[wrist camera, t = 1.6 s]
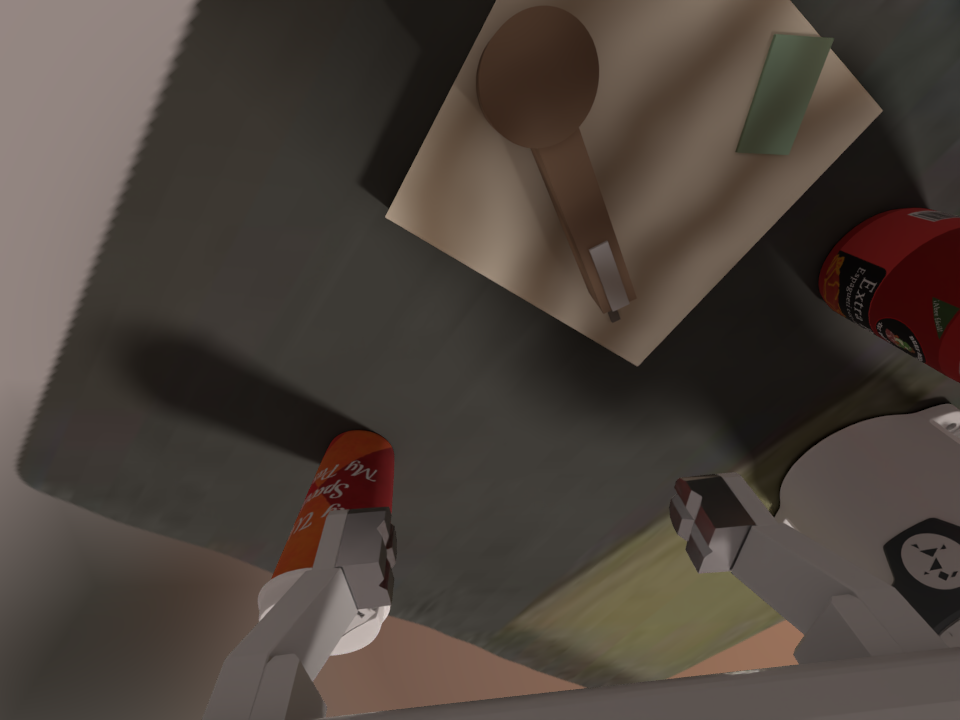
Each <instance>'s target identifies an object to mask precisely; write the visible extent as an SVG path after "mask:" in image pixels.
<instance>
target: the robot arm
mask: <svg viewBox="0 0 960 720" xmlns="http://www.w3.org/2000/svg"><path fill="white" fill-rule="evenodd" d="M674 488H675V490H676V491H677V494H676V495H675V496H674V497H673V498H671V502H670V506H669V510H670V518H671V521H672V524H673V527H674V529H675V530H676V532H677V534H678V535H679V536H680V537H682V538H683V539H685V540H686V541H687V545H686V551H687V553H688V555H689V557H690V559H691V561H692V563H693V564H694V566H695V568H696V570H697V572H698V573H710V572H724V571H731V573H732V574H733V575H734V576H735V577H737V578H738V579H739V580H740V581H741V582H743V583H744V584H745V585H746V586H747V587H748V588H750V589H751V590H752V591H753V592H754V593H756V594H757V595H758V596H759V597H760V598H761V599H763V600H764V601H765V602H766V603H767V604H769V605H770V606H771V607H772V608H773V609H774V610H776V611H777V612H778V613H779V614H780V615H782V616H783V617H784V618H785V619H786V620H787V621H789V622H790V623H791V624H792V625H793V626H795V627H796V628H797V629H798V630H799V631H801V632H802V633H803V634H804V637H803V638H802V640H801V641H800V643H799V644H798V646H797V647H796V648H795V651H794V654H793V655H794V656H795V658H796V660H797V661H798V663H799V665H790V666H782V667H773V668H763V669H755V670H746V671H736V672H727V673H719V674H711V675H702V676H692V677H683V678H675V679H665V680H656V681H647V682H638V683H629V684H620V685H611V686H602V687H593V688H584V689H576V690H567V691H558V692H549V693H540V694H531V695H522V696H513V697H504V698H495V699H487V700H478V701H470V702H460V703H451V704H442V705H433V706H424V707H416V708H407V709H397V710H389V711H380V712H371V713H362V714H353V715H344V716H336V717H327V718H325V716H326V711H327V706H326V704H325V702H324V701H323V699H322V697H321V696H320V694H319V692H318V690H317V689H316V687H315V685H314V684H313V681H314V679H315V677H316V676H317V674H318V673H319V671H320V670H321V668H322V667H323V665H324V664H325V662H326V661H327V659H328V657H329V656H330V654H331V653H332V651H333V650H334V648H335V647H336V645H337V644H338V642H339V640H340V639H341V637H342V636H343V634H344V633H345V631H346V630H347V628H348V627H349V625H350V623H351V622H352V620H353V619H354V617H355V616H356V614H357V613H358V611H357V610H359V609H367V608H374V607H382V606H389V605H392V596H393V587H394V576H393V573H392V569H391V568H392V567H393V566H394V564H395V563H396V556H397V538H396V531H395V526H394V525H392V524H391V511H390V508H389V507H373V508H358V509H346V510H334V511H330V512H329V514H328V515H327V517H326V520H325V524H324V528H323V531H322V535H321V539H320V542H319V546H318V550H317V553H316V557H315V561H314V564H313V568H312V570H309V571H305V572H304V574H303V575H302V576H301V577H300V578H299V579H298V580H297V581H296V582H295V583H294V584H293V586H292V587H291V588H290V589H289V590H288V591H287V592H286V593H285V594H284V595H283V596H282V598H281V599H280V600H279V601H278V602H277V603H276V604H275V605H274V606H273V607H272V608H271V610H270V611H269V612H268V613H267V614H266V615H265V616H264V617H263V618H262V619H261V620H260V622H259V623H258V624H257V625H256V626H255V627H254V628H253V629H252V630H251V631H250V633H249V634H248V635H247V636H246V637H245V638H244V639H243V640H242V641H241V642H240V643H239V644H238V646H237V647H236V648H235V649H234V650H233V651H232V652H231V653H230V655H228V657H227V658H226V659H225V661H224V664H223V666H222V669H221V672H220V674H219V677H218V679H217V682H216V685H215V687H214V690H213V692H212V695H211V697H210V700H209V702H208V705H207V708H206V710H205V713H204V715H203V718H202V720H960V410H959V409H958V408H956V407H955V406H954V405H952V404H942V405H938V406H935V407H931V408H928V409H925V410H922V411H919V412H917V413H912V414H902V415H889V416H882V417H877V418H872V419H869V420H865V421H862V422H859V423H856V424H854V425H851V426H849V427H846V428H844V429H842V430H840V431H838V432H836V433H834V434H832V435H830V436H829V437H827V438H825V439H824V440H822V441H821V442H819V443H818V444H816V445H815V446H814V447H812V448H811V449H810V450H808V451H807V452H806V453H805V454H804V455H803V456H802V457H801V458H800V459H799V460H798V461H797V462H796V463H795V464H794V465H793V466H792V468H791V469H790V470H789V472H788V473H787V475H786V477H785V478H784V480H783V483H782V486H781V489H780V509H779V510H778V512H777V514H776V516H775V517H773V516H772V515H771V513H770V512H769V511H768V510H767V508H766V507H765V506H764V504H763V503H762V502H761V501H760V499H759V498H758V497H757V496H756V494H755V493H754V492H753V490H752V489H751V488H750V487H749V485H748V484H747V483H746V482H745V480H744V479H743V478H742V477H741V475H739V474H738V473H736V472H734V473H723V474H716V475H715V474H709V475H700V476H691V477H682V478H679V479H678V480H677V481H676V483H675V487H674Z"/></svg>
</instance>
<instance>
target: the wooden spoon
mask: <svg viewBox="0 0 960 720" xmlns="http://www.w3.org/2000/svg"><path fill="white" fill-rule="evenodd" d="M598 82H599V61H598V55H597V51H596V47H595V45H594V42H593V39H592V37H591V36H590V34H589V32H588V30H587V29H586V28H585V26H584V25H583V24H582V23H581V22H580V21H579V19H577V18H576V17H575V16H574V15H572V14H571V13H569V12H567V11H565V10H563V9H561V8H558V7H553V6H535V7H530V8H528V9H525V10H522V11H520V12H519V13H517V14H515V15H514V16H512V17H511V18H510V19H508V20H507V21H506V22H505V23H504V24H503V25H502V26H501V27H500V28H499V30H498V31H497V32H496V33H495V34H494V36H493V37H492V38H491V39H490V41H489V42H488V43H487V45H486V47H485V48H484V50H483V53H482V55H481V57H480V60H479V63H478V68H477V73H476V93H477V98H478V102H479V106H480V108H481V111H482V113H483V115H484V117H485V118H486V120H487V121H488V123H489V124H490V125H491V126H492V127H493V128H494V129H495V130H496V131H497V132H499V133H500V134H501V135H502V136H503V137H505V138H506V139H507V140H509V141H510V142H512V143H514V144H516V145H519V146H522V147H526V148H530V149H531V151H532V154H533V156H534V159H535V161H536V164H537V166H538V169H539V171H540V174H541V176H542V179H543V181H544V183H545V186H546V188H547V191H548V193H549V196H550V198H551V201H552V203H553V206H554V208H555V211H556V213H557V216H558V218H559V220H560V223H561V225H562V228H563V230H564V233H565V235H566V238H567V240H568V243H569V245H570V248H571V250H572V253H573V255H574V257H575V260H576V262H577V265H578V267H579V270H580V272H581V275H582V277H583V280H584V282H585V285H586V287H587V290H588V292H589V294H590V295H591V297H592V298H593V300H594V301H595V302H596V304H597V305H598V307H599V308H600V310H601V311H602V313H603V314H605V313H607V312H609V311H611V310H612V311H615V310H618V309H620V308H622V307H624V306H626V305H628V304H630V303H629V302H630V301H632V300H635V299H637V297H636V294H635V291H634V288H633V285H632V282H631V279H630V276H629V273H628V270H627V268H626V265H625V262H624V259H623V256H622V253H621V250H620V247H619V244H618V241H617V238H616V235H615V232H614V229H613V226H612V223H611V220H610V217H609V214H608V212H607V209H606V206H605V203H604V200H603V197H602V194H601V191H600V188H599V185H598V182H597V179H596V176H595V173H594V170H593V167H592V164H591V161H590V158H589V156H588V153H587V150H586V147H585V144H584V141H583V138H582V135H581V132H580V129H579V127H580V125H581V124H582V123H583V121H584V120H585V119H586V117H587V115H588V113H589V112H590V110H591V107H592V105H593V103H594V100H595V97H596V93H597V89H598Z"/></svg>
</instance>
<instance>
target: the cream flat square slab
mask: <svg viewBox="0 0 960 720" xmlns="http://www.w3.org/2000/svg"><path fill="white" fill-rule="evenodd" d="M535 6H553V7H558V8H561V9H563V10H565V11H567V12H569V13H571V14H572V15H574V16H575V17H576V18H577V19H579V21H580V22H581V23H582V24H583V25H584V26H585V28H586V29H587V30H588V32H589V34H590V36H591V37H592V39H593V42H594V45H595V47H596V51H597V55H598V61H599V82H598V89H597V93H596V97H595V100H594V103H593V105H592V107H591V110H590V112H589V113H588V115H587V117H586V119H585V120H584V121H583V123H582V124H581V125H580V127H579V129H580V132H581V135H582V138H583V141H584V144H585V147H586V150H587V153H588V156H589V158H590V161H591V164H592V167H593V170H594V173H595V176H596V179H597V182H598V185H599V188H600V191H601V194H602V197H603V200H604V203H605V206H606V209H607V212H608V214H609V217H610V220H611V223H612V226H613V229H614V232H615V235H616V238H617V241H618V244H619V247H620V250H621V253H622V256H623V259H624V262H625V265H626V268H627V270H628V273H629V276H630V279H631V282H632V285H633V288H634V291H635V294H636V297H637V299H635V300H632V301H630V302H629V303H630V304H628V305H626V306H624V307H622V308H620V309H618V310H615V311H612V310H611V311H609V312H607V313H605V314H603V313H602V311H601V310H600V308H599V307H598V305H597V304H596V302H595V301H594V300H593V298H592V297H591V295H590V294H589V292H588V290H587V287H586V285H585V282H584V280H583V277H582V275H581V272H580V270H579V267H578V265H577V262H576V260H575V257H574V255H573V253H572V250H571V248H570V245H569V243H568V240H567V238H566V235H565V233H564V230H563V228H562V225H561V223H560V220H559V218H558V216H557V213H556V211H555V208H554V206H553V203H552V201H551V198H550V196H549V193H548V191H547V188H546V186H545V183H544V181H543V179H542V176H541V174H540V171H539V169H538V166H537V164H536V161H535V159H534V156H533V154H532V151H531V149H530V148H526V147H522V146H519V145H516V144H514V143H512V142H510V141H509V140H507V139H506V138H505V137H503V136H502V135H501V134H500V133H499V132H497V131H496V130H495V129H494V128H493V127H492V126H491V125H490V124H489V123H488V121H487V120H486V118H485V117H484V115H483V113H482V111H481V108H480V106H479V102H478V98H477V93H476V73H477V68H478V63H479V60H480V57H481V55H482V53H483V50H484V48H485V47H486V45H487V43H488V42H489V41H490V39H491V38H492V37H493V36H494V34H495V33H496V32H497V31H498V30H499V28H500V27H501V26H502V25H503V24H504V23H505V22H506V21H507V20H508V19H510V18H511V17H512V16H514V15H515V14H517V13H519V12H520V11H522V10H525V9H528V8H530V7H535ZM833 40H834V38H825V37H821V36H820V35H819V34H818V33H817V32H816V31H815V29H814V28H813V27H812V26H811V25H810V23H809V22H808V21H807V20H806V19H805V17H804V16H803V15H802V14H801V13H800V12H799V10H798V9H797V8H796V7H795V6H794V4H793V3H792V2H791V1H790V0H496V2H495V4H494V6H493V8H492V10H491V11H490V13H489V15H488V17H487V19H486V21H485V23H484V25H483V27H482V29H481V31H480V33H479V35H478V37H477V39H476V41H475V43H474V45H473V47H472V49H471V50H470V52H469V54H468V56H467V58H466V60H465V62H464V64H463V66H462V68H461V70H460V72H459V74H458V76H457V78H456V80H455V82H454V84H453V86H452V87H451V89H450V91H449V93H448V95H447V97H446V99H445V101H444V103H443V105H442V107H441V109H440V111H439V113H438V115H437V117H436V119H435V121H434V123H433V124H432V126H431V128H430V130H429V132H428V134H427V136H426V138H425V140H424V142H423V144H422V146H421V148H420V150H419V152H418V154H417V156H416V158H415V160H414V162H413V163H412V165H411V167H410V169H409V171H408V173H407V175H406V177H405V179H404V181H403V183H402V185H401V187H400V189H399V191H398V193H397V195H396V197H395V199H394V200H393V202H392V204H391V206H390V208H389V210H388V212H387V214H386V216H385V217H386V218H387V219H389V220H391V221H392V222H394V223H396V224H398V225H399V226H401V227H403V228H404V229H406V230H408V231H409V232H411V233H413V234H414V235H416V236H418V237H419V238H421V239H423V240H425V241H426V242H428V243H430V244H431V245H433V246H435V247H436V248H438V249H440V250H441V251H443V252H445V253H447V254H448V255H450V256H452V257H453V258H455V259H457V260H458V261H460V262H462V263H463V264H465V265H467V266H468V267H470V268H472V269H474V270H475V271H477V272H479V273H480V274H482V275H484V276H485V277H487V278H489V279H490V280H492V281H494V282H496V283H497V284H499V285H501V286H502V287H504V288H506V289H507V290H509V291H511V292H512V293H514V294H516V295H517V296H519V297H521V298H523V299H524V300H526V301H528V302H529V303H531V304H533V305H534V306H536V307H538V308H539V309H541V310H543V311H545V312H546V313H548V314H550V315H551V316H553V317H555V318H556V319H558V320H560V321H561V322H563V323H565V324H566V325H568V326H570V327H572V328H573V329H575V330H577V331H578V332H580V333H582V334H583V335H585V336H587V337H588V338H590V339H592V340H594V341H595V342H597V343H599V344H600V345H602V346H604V347H605V348H607V349H609V350H610V351H612V352H614V353H615V354H617V355H619V356H621V357H622V358H624V359H626V360H627V361H629V362H631V363H632V364H634V365H636V366H637V367H638V366H639V365H640V364H641V363H642V362H643V360H644V359H645V358H646V357H647V356H648V355H649V354H650V353H651V352H652V351H653V350H654V349H655V348H656V347H657V346H658V345H659V344H660V343H661V342H662V341H663V340H664V339H665V338H666V336H667V335H668V334H669V333H670V332H671V331H672V330H673V329H674V328H675V327H676V326H677V325H678V324H679V323H680V322H681V321H682V320H683V319H684V318H685V317H686V316H687V315H688V314H689V312H690V311H691V310H692V309H693V308H694V307H695V306H696V305H697V304H698V303H699V302H700V301H701V300H702V299H703V298H704V297H705V296H706V295H707V294H708V293H709V292H710V291H711V290H712V289H713V287H714V286H715V285H716V284H717V283H718V282H719V281H720V280H721V279H722V278H723V277H724V276H725V275H726V274H727V273H728V272H729V271H730V270H731V269H732V268H733V267H734V266H735V265H736V263H737V262H738V261H739V260H740V259H741V258H742V257H743V256H744V255H745V254H746V253H747V252H748V251H749V250H750V249H751V248H752V247H753V246H754V245H755V244H756V243H757V242H758V241H759V239H760V238H761V237H762V236H763V235H764V234H765V233H766V232H767V231H768V230H769V229H770V228H771V227H772V226H773V225H774V224H775V223H776V222H777V221H778V220H779V219H780V218H781V217H782V216H783V214H784V213H785V212H786V211H787V210H788V209H789V208H790V207H791V206H792V205H793V204H794V203H795V202H796V201H797V200H798V199H799V198H800V197H801V196H802V195H803V194H804V193H805V192H806V190H807V189H808V188H809V187H810V186H811V185H812V184H813V183H814V182H815V181H816V180H817V179H818V178H819V177H820V176H821V175H822V174H823V173H824V172H825V171H826V170H827V169H828V168H829V167H830V165H831V164H832V163H833V162H834V161H835V160H836V159H837V158H838V157H839V156H840V155H841V154H842V153H843V152H844V151H845V150H846V149H847V148H848V147H849V146H850V145H851V144H852V143H853V141H854V140H855V139H856V138H857V137H858V136H859V135H860V134H861V133H862V132H863V131H864V130H865V129H866V128H867V127H868V126H869V125H870V124H871V123H872V122H873V121H874V120H875V119H876V117H877V116H878V115H879V114H880V113H881V112H882V111H883V110H882V109H881V108H880V106H879V105H878V104H877V103H876V102H875V101H874V99H873V98H872V97H871V96H870V95H869V93H868V92H867V91H866V90H865V89H864V87H863V86H862V85H861V84H860V83H859V82H858V80H857V79H856V78H855V77H854V76H853V74H852V73H851V72H850V71H849V70H848V68H847V67H846V66H845V65H844V64H843V63H842V61H841V60H840V59H839V58H838V57H837V55H836V54H835V53H834V52H833V51H832V49H831V45H832V43H833Z"/></svg>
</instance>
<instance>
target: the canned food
mask: <svg viewBox="0 0 960 720" xmlns="http://www.w3.org/2000/svg"><path fill="white" fill-rule="evenodd" d="M818 284H819V291H820V294H821V296H822V298H823V299H824V301H825V302H826V303H827V305H828V306H829V307H830V308H831V309H832V310H833V311H835V312H837V313H839V314H840V315H842V316H844V317H845V318H847V319H849V320H851V321H852V322H854V323H856V324H858V325H859V326H861V327H863V328H865V329H866V330H868V331H870V332H871V333H873V334H875V335H877V336H878V337H880V338H882V339H884V340H885V341H887V342H889V343H890V344H892V345H894V346H896V347H897V348H899V349H901V350H903V351H904V352H906V353H908V354H910V355H911V356H913V357H915V358H916V359H918V360H920V361H922V362H923V363H925V364H927V365H929V366H930V367H932V368H934V369H935V370H937V371H939V372H941V373H942V374H944V375H946V376H948V377H949V378H951V379H953V380H955V381H957V382H959V383H960V216H956V215H951V214H947V213H943V212H939V211H935V210H931V209H926V208H902V209H895V210H889V211H886V212H883V213H880V214H877V215H875V216H873V217H871V218H869V219H867V220H865V221H864V222H862V223H860V224H859V225H857V226H856V227H854V228H853V229H852V230H851V231H849V232H848V233H847V234H846V235H845V236H844V237H843V238H842V239H841V240H840V241H839V242H838V243H837V244H836V245H835V246H834V248H833V249H832V250H831V252H830V253H829V254H828V256H827V258H826V260H825V262H824V263H823V266H822V269H821V271H820V275H819V282H818Z"/></svg>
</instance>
